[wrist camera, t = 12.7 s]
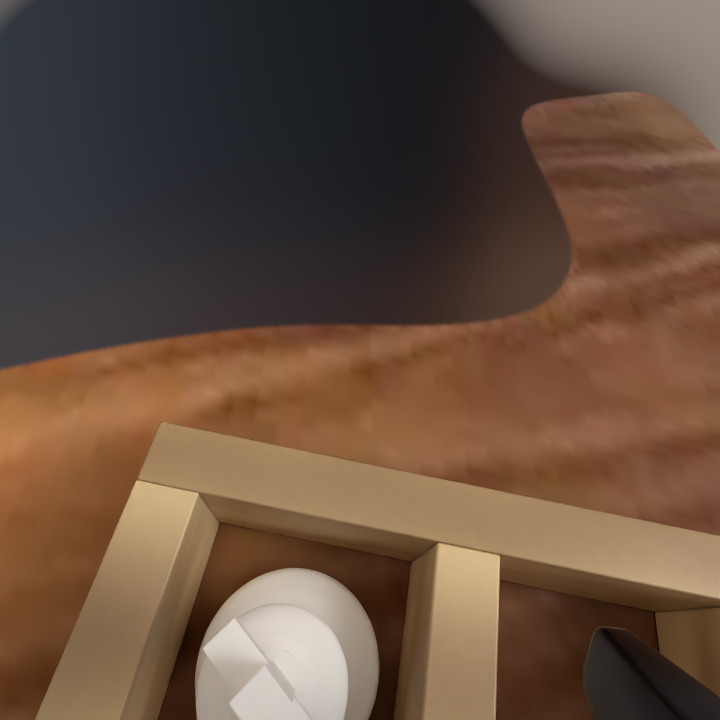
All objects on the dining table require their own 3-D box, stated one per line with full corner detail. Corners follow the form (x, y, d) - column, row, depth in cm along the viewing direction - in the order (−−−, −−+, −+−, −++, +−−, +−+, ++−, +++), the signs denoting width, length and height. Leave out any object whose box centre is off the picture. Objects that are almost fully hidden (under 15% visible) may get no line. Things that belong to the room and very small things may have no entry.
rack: (768, 996, 11) (940, 1128, 8) (45, 844, 11) (-51, 917, 8) (695, 567, 16) (788, 548, 13) (188, 462, 16) (160, 420, 13)
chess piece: (299, 532, 15) (292, 385, 7) (415, 667, 14) (603, 707, 5) (159, 663, 13) (-122, 699, 4) (276, 838, 12) (193, 1398, 3)
